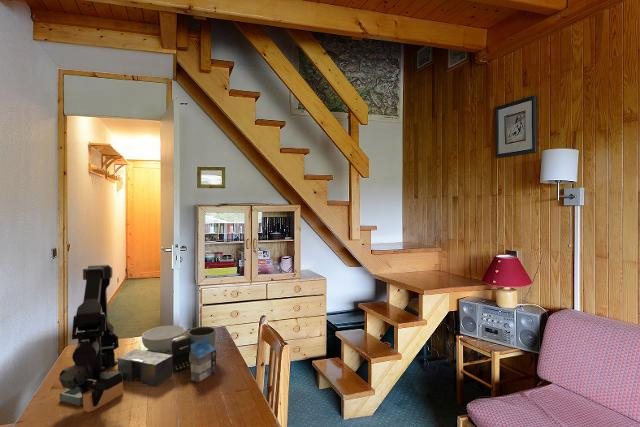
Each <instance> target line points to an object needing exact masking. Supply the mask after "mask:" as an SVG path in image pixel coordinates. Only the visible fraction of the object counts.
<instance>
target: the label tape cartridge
mask: <svg viewBox="0 0 640 427" xmlns="http://www.w3.org/2000/svg"><path fill="white" fill-rule="evenodd" d="M199 343H200V344H201V343H202V345H200V346H198V347H197V345H199ZM216 373H217V349H216V348H215V347H214V348H213V347H212V346H210V345H209V344H208V337H206V338H204V339H202V340H200V341H197V342H195V343H193V344H191V364H190V379H191V380H190V381H193V382H195V383H196V382H197V383H201V382H203V381H204V380H206V379H208V378H209V377H210V376H213V375H214V374H216Z"/></svg>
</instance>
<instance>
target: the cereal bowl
mask: <svg viewBox="0 0 640 427" xmlns="http://www.w3.org/2000/svg"><path fill="white" fill-rule="evenodd" d="M186 335H187V334H186V328H185V327H184V326H182V325H162V326H157V327H153V328H150V329H147V330H145V331H144V332H143V333H142V334H141V342H142V345H143V346H144V348H146V349H148V350H149V351H152V352H156V353H167V352H170V343H171V341H172V340H173V339H175V338H178V337H182V336H186Z"/></svg>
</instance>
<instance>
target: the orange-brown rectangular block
mask: <svg viewBox="0 0 640 427" xmlns="http://www.w3.org/2000/svg"><path fill="white" fill-rule="evenodd" d="M123 394H124V381H123V382H121V383H119V384H118V385H116V386H114V387H112V388H110V389H108V390H104V392H103V394H102V396H101V399H100V401H99V403H98V405H97V406H95V407H94V406H93V401H92V391H91V390H90V391H88V392H86V393H84V394H83V404H82V406H83V409H82V410H83V411H84V412H86V413H87V412H88V413H91V412H93V411H95V410H96V409H99V408H100V407H102V406H103V405H106V404H107V403H109V402H111V401H112V400H114V399H116V398H117V397H120V396H121V395H123Z"/></svg>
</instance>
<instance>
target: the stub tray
mask: <svg viewBox="0 0 640 427" xmlns="http://www.w3.org/2000/svg"><path fill="white" fill-rule="evenodd" d="M106 373H108V372H107V371H104V372H102V374H106ZM59 402H63V403H66V404H67V403H68V404H72V405H76V406H80V407H81V405H82V406H83V396H82V394H81V392H80V390H79V388H78V387H77V388H75V389H73V390H71V389H68V388H67V389H66V390H64V391H62V392H60V393H59Z"/></svg>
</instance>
